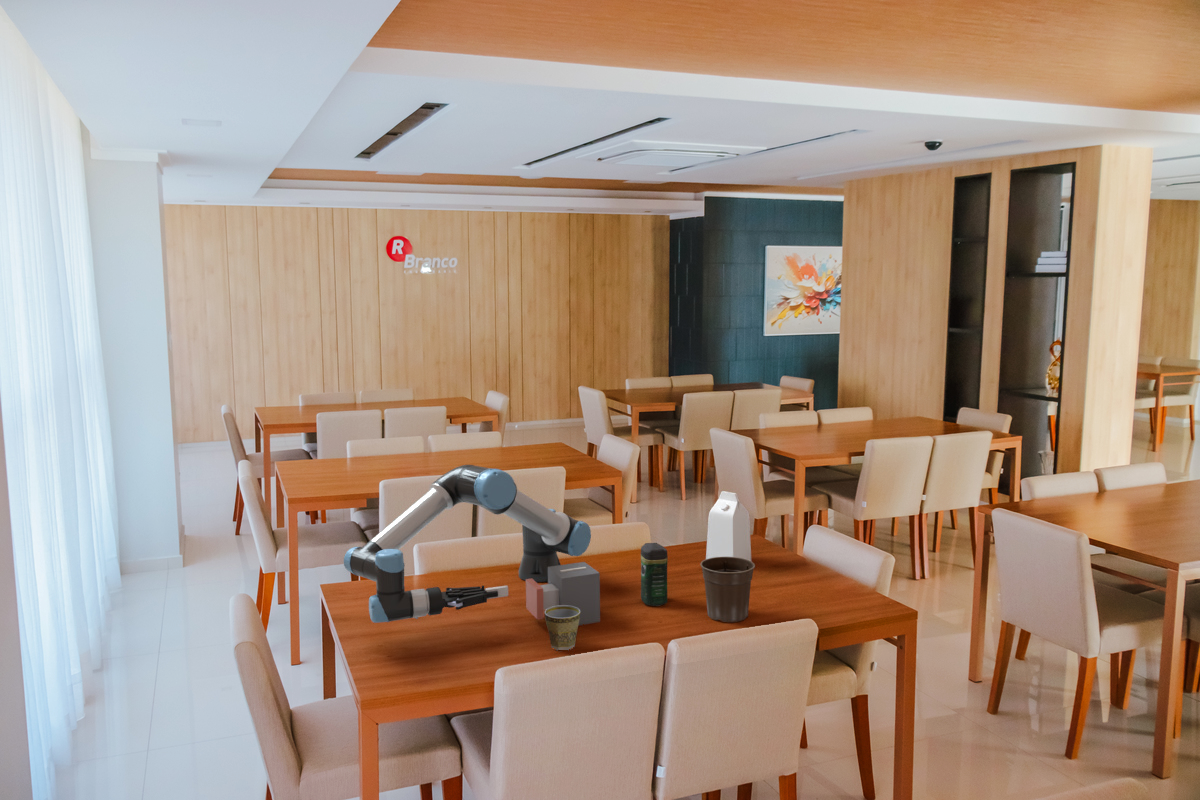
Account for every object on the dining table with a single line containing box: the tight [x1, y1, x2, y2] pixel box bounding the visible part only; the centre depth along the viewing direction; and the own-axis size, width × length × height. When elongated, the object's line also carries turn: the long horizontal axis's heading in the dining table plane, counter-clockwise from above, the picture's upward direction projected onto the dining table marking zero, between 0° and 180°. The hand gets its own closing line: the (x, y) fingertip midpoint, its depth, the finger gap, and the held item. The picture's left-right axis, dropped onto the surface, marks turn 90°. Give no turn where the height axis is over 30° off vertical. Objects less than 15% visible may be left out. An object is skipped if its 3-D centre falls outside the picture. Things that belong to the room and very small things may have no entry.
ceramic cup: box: [544, 605, 580, 651], centre depth 236 cm, size 13×10×10 cm
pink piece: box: [525, 578, 559, 620], centre depth 253 cm, size 14×10×9 cm
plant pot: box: [700, 557, 756, 623], centre depth 256 cm, size 16×16×16 cm
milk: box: [705, 490, 752, 562], centre depth 307 cm, size 12×12×26 cm
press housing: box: [547, 561, 601, 626], centre depth 255 cm, size 12×12×15 cm
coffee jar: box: [640, 542, 669, 607], centre depth 268 cm, size 10×8×19 cm
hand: (507, 590), depth 246 cm, fingers closed
